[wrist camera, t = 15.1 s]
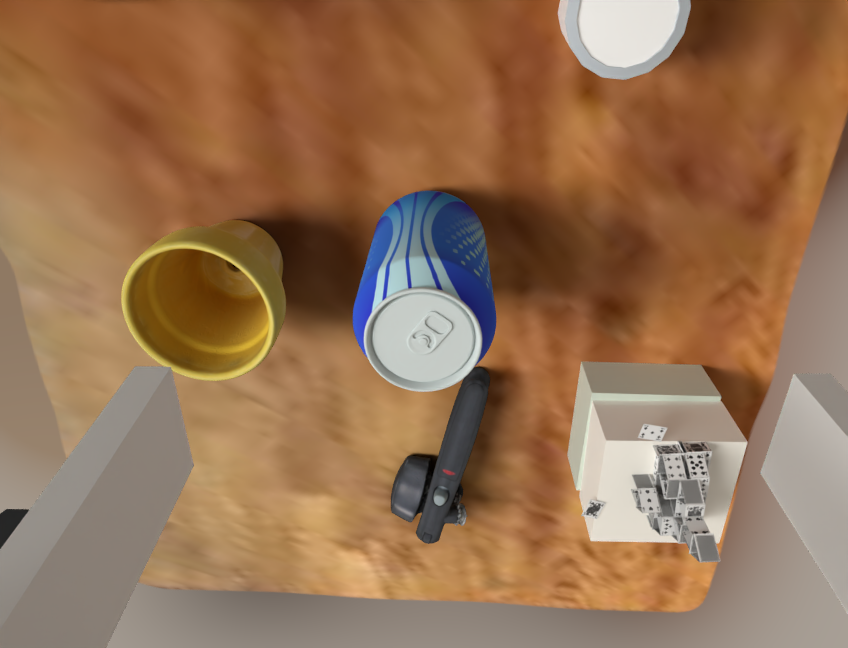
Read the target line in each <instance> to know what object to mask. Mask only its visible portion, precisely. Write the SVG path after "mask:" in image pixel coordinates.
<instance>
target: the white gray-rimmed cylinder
mask: <svg viewBox="0 0 848 648" xmlns="http://www.w3.org/2000/svg"><path fill="white" fill-rule="evenodd" d="M690 9H691V4H690V0H560V4H559V10H558V17H559V22H560V27H561V32H562V33H563V35H564V37H565V39H566V41H567V43H568V44H569V46H570V48H571V49H572V51H573V52H574V54H575V55H576V57H577V58H578V60H579V61H580V63H581V64H582V66H584V67H586V68H587V69H589V70H591V71H592V72H594V73H596V74H597V75H599V76H601V77H604V78H614V79H624V80H625V79H629V78H632V77H635V76H638V75H641V74H645V73H648V72H649V71H651V70H652V69H653V68H655V67H656V66H657V65H659V64H660V63H661V62H662V61H664V60H665V59H666V58H668V57H669V56H670V54H671V53H672V51H673V50H674V48H675V47H676V45H677V44H678V42H679V41H680V39H681V38H682V36H683V35H684V32H685V28H686V24H687V20H688V16H689V13H690Z"/></svg>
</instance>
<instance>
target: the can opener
mask: <svg viewBox="0 0 848 648" xmlns="http://www.w3.org/2000/svg"><path fill="white" fill-rule="evenodd" d="M489 383H490V377H489V374H488V372H487V371H486V370H484V369H483V368H480V367H475V368H473V369H472V370H471V372H470V373H469V374H468V375H467V376H466V377H465V378H464V379H463V382H462V384H461V387H460V389H459V392H458V395H457V397H456V400H455V403H454V406H453V409H452V412H451V415H450V418H449V421H448V425H447V429H446V432H445V435H444V438H443V441H442V445H441V449H440V452H439V456H438V459H437V463H436V466H435V469H434V471H432V472H430V466H431V459H430V458H424V457H418V456H408V457H407V458H406V459H405V461H404V462H403V464H402V465H401V467H400V469H399V471H398V473H397V475H396V478H395V481H394V484H393V488H392V494H391V511H392V513H394V514H395V515H397V516H399V517H401V518H402V519H404V520H406V521H408V522H412V521H413V519H414V517H415V516H416V515H417V514H418V513H422V515H421V518H420V522H419V524H418V528H417V531H416V534H417V536H418V538H419V539H420V540H422V541H423V542H424V543H428V544H429V543H435V542H437V541H438V540H439V538H440V535H441V532H442V529H443V526H444V524H445V523H453V524H455V525H457V524H460V525H464V524H465V522H466V517H467V515H466V509H465V506H464V505H463V504H462V503H459V502H460V500H461V498H462V496H463V489H462V486H461V484H460V481H461V478H462V476H463V473H464V470H465V467H466V465H467V462H468V459H469V457H470V454H471V451H472V448H473V445H474V441H475V439H476V436H477V432H478V429H479V426H480V423H481V419H482V416H483V412H484V409H485V405H486V401H487V396H488V387H489Z"/></svg>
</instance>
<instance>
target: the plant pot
mask: <svg viewBox="0 0 848 648" xmlns="http://www.w3.org/2000/svg"><path fill="white" fill-rule="evenodd" d="M230 263H232V264H233V265H235V266H236V267H237V268H239V269H237V268H234V267H233V266H232V265H231V264H230ZM282 273H283V260H282V255H281V252H280V249H279V247H278V245H277V243H276V242H275V241H274V239H273V238H272V237H271V236H270V235H269V234H268V233H267V232H266V231H265V230H263V229H262V228H260V227H259V226H257V225H255V224H252V223H250V222H247V221H241V220H228V221H224V222H220V223H218V224H215V225H212V226H210V227H203V226H202V227H189V228H184V229H181V230H178V231H175V232H172V233H171V234H169V235H167V236H165V237H163V238H162V239H160V240H159V241H158V242H156V243H155V244H153V245H152V246H151V247H150V248H148V249H147V250H146V251H145V252H144V253H143V254H142V255H141V256H139V258H138V259H137V260H136V261H135V262H134V263H133V264H132V266H131V267H130V269H129V270H128V272H127V274H126V277H125V279H124V283H123V287H122V309H123V314H124V317H125V320H126V323H127V325H128V328H129V330H130V331H131V333H132V335H133V337H134V338H135V340H136V341H137V342H138V344H139V345H140V346H141V347H142V348H143V350H144V351H145V352H146V353H147V354H148V355H149V356H151V357H152V358H153V359H154V360H155V361H157V362H158V363H160V364H161V365H163V366H165V367H171V369H172V371H174V372H176V373H178V374H181V375H183V376H187V377H190V378H194V379H199V380H207V381H220V380H228V379H232V378H236V377H239V376H241V375H244V374H246V373H248V372H249V371H251V370H253V369H254V368H255V367H257V366H258V365H259V364H260V363H261V362H262V361H263V360H264V359H265V358H266V356H267V355H268V354H269V352H270V350H271V349H272V347H273V345H274V343H275V341H276V339H277V337H278V335H279V332H280V330H281V327H282V325H283V322H284V318H285V313H286V297H285V291H284V288H283V284H282Z"/></svg>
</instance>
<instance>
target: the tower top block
mask: <svg viewBox="0 0 848 648" xmlns="http://www.w3.org/2000/svg"><path fill="white" fill-rule="evenodd" d="M643 424H649V425H655V426H661V427H666V428H667V430H666V432H665V434H664V437H663V439H662V441H661V442H659V441H654V440H648V439H642V438H638V436H639V433H640V431H641V429H642V426H643ZM681 441H682V443H686V442H707V444H708V446H709V448H710V449H711V451H712V456H711V462H710V465H709V471H708V473H709V477H710V481H709V487H708V493H707V497H706V503H705V504H706V506H705V512H704V518H703V519H704V521H705V523H706V525H707V527H708V529H709V531H710V533H714V537H715V541H716V543H719V542H720V538H721V535H722V531H723V527H724V524H725V520H726V517H727V513H728V510H729V506H730V503H731V499H732V496H733V492H734V489H735V485H736V482H737V478H738V475H739V471H740V467H741V464H742V460H743V457H744V453H745V450H746V446H747V443H748V442H747V440H746V439H745V437H744V436H743V434H742V432H741V431H740V429H739V428H738V426H737V425H736V423H735V421H734V420H733V418H732V417H731V415H730V414H729V412H728V411H727V409H726V407H725V406H724V404H723V403H722V401H623V400H592V407H591V414H590V422H589V429H588V436H587V444H586V451H585V459H584V466H583V474H582V481H581V488H580V500H581V504H582V508H583V511H584V510H585V508H586V506H587V504H588V502H589V500H590V499H592V500H596V501H600V502H604V503H606V504H605V505H604V507H603V509H602V511H601V513H600V514H599V516H598V518H597V519H594V518H589V517H585V520H586V525H587V529H588V533H589V537H590V541H620V542H678V541H677V540H675V539H674V538H673V537H672V536H671V535H669V536H660V535H659V534H658V533H657V532H656V531H655V530H652V527H650V524H649V522H648V519H647V516H646V515H648V514H649V513H642V512H640V511H639V510H638V509H637V508H636V507H637V505H636V502H635V500H634V497H633V494H632V491H631V489H637V488H636V485H635V483H634V480H633V477H632V474H649V475H650V477H651V479H653V470H654V461H655V450H654V448H653V445H659V444H677V442H679V444H680V446H681Z"/></svg>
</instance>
